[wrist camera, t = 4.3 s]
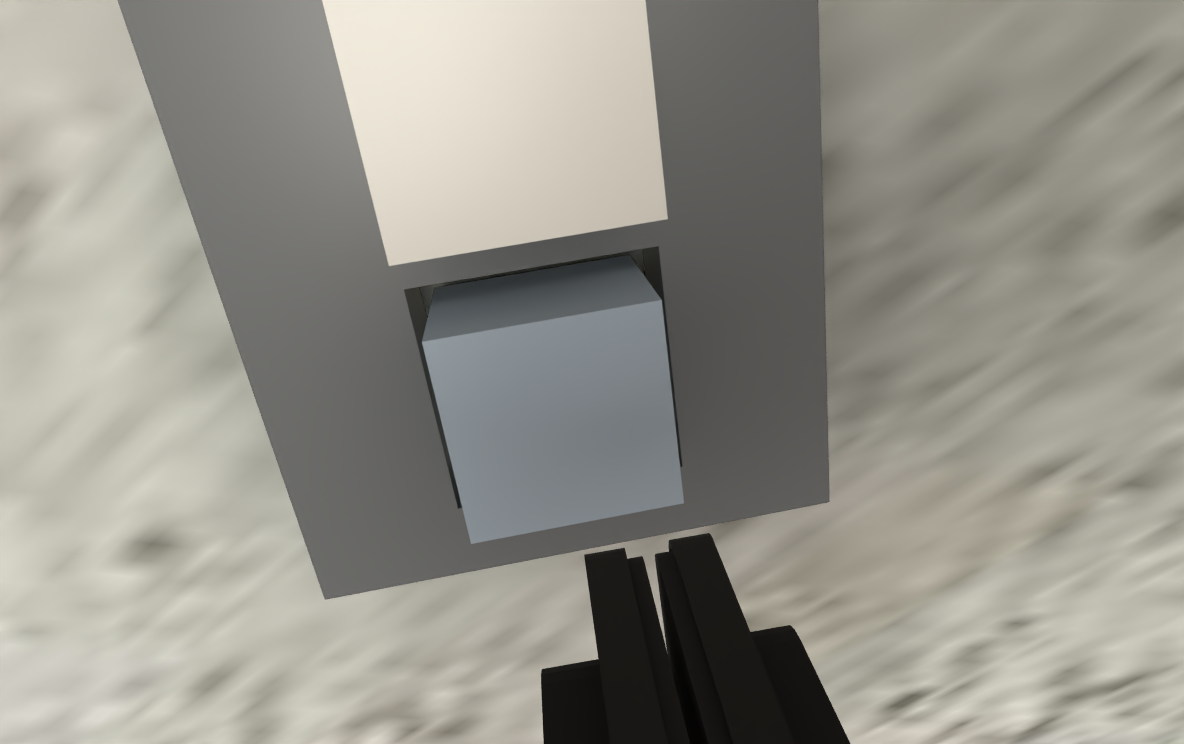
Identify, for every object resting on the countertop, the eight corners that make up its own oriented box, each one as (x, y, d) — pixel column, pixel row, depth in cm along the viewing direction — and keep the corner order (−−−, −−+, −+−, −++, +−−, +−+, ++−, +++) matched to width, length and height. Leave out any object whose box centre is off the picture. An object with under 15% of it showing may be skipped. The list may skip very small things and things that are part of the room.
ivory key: (600, -65, 15) (634, -102, 12) (630, 185, 17) (668, 219, 14) (351, -29, 15) (308, -57, 12) (410, 221, 17) (389, 265, 13)
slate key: (629, 254, 20) (661, 300, 16) (650, 427, 22) (684, 502, 18) (434, 288, 19) (422, 341, 16) (474, 460, 21) (471, 543, 18)
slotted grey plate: (750, -655, 14) (799, -791, 12) (796, 459, 24) (829, 502, 21) (-24, -578, 14) (-128, -708, 11) (341, 545, 23) (324, 599, 21)
